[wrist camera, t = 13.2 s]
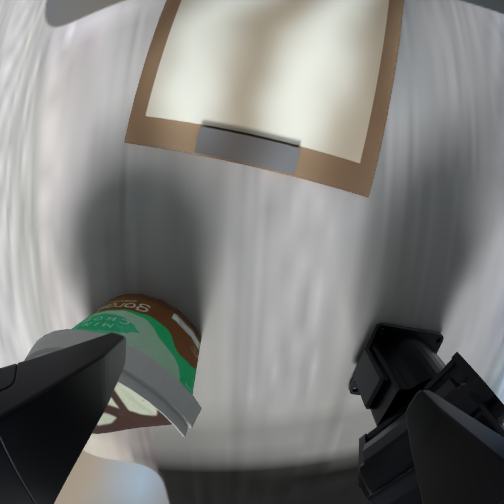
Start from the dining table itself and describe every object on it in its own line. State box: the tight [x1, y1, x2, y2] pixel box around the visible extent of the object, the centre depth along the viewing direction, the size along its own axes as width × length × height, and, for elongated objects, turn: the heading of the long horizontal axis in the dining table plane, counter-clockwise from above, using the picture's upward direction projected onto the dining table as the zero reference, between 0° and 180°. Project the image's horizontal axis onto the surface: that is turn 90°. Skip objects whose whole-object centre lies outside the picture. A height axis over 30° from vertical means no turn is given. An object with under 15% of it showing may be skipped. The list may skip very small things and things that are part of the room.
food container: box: [24, 294, 202, 437], centre depth 18 cm, size 12×6×10 cm, turn 109°
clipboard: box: [125, 0, 404, 197], centre depth 16 cm, size 16×19×1 cm
